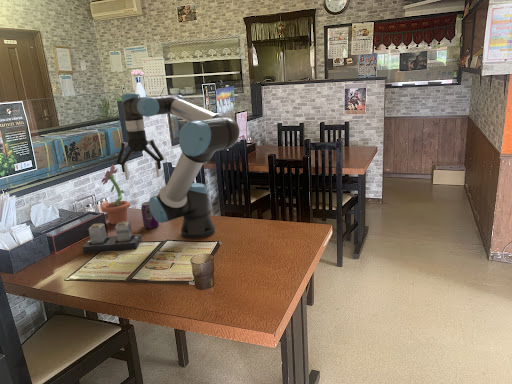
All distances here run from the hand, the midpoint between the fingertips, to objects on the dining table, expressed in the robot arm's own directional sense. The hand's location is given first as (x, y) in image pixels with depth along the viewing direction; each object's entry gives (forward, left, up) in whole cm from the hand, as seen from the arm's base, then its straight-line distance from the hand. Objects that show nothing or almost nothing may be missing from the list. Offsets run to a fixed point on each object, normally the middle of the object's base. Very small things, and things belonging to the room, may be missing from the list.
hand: (143, 177), depth 175 cm
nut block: (+8, +12, -27) cm, 31 cm away
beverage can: (+2, -10, -27) cm, 29 cm away
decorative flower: (+21, -22, -27) cm, 40 cm away
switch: (+14, +12, -27) cm, 32 cm away
